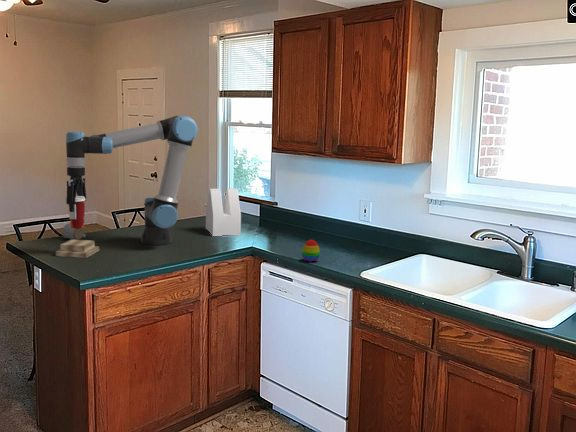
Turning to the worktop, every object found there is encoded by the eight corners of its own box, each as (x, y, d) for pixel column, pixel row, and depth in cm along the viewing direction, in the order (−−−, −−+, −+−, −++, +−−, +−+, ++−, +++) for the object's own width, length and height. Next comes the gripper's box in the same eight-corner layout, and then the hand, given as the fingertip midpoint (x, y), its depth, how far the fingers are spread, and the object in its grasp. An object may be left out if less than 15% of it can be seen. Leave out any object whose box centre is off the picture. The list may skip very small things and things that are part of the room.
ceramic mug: (74, 241, 279) (74, 226, 277) (61, 239, 282) (61, 224, 281) (89, 238, 288) (89, 223, 287) (77, 236, 291) (77, 221, 290)
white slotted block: (240, 236, 308) (241, 191, 304) (212, 237, 303) (213, 191, 299) (231, 229, 326) (232, 186, 322) (205, 229, 321) (206, 186, 316)
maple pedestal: (99, 250, 262) (98, 240, 261) (86, 257, 249) (86, 246, 248) (70, 248, 263) (69, 238, 262) (55, 256, 249) (55, 245, 249)
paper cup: (90, 227, 256) (89, 196, 253) (77, 230, 249) (76, 199, 246) (77, 224, 259) (76, 194, 256) (64, 227, 252) (63, 197, 250)
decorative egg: (321, 263, 257) (322, 241, 255) (304, 263, 255) (305, 241, 253) (316, 258, 265) (317, 237, 263) (299, 258, 263) (300, 237, 261)
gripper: (77, 164, 259) (78, 213, 263) (56, 168, 239) (58, 220, 243) (93, 165, 259) (94, 213, 263) (73, 169, 239) (74, 221, 243)
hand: (77, 217), depth 253 cm, fingers closed on paper cup, 8 cm apart
